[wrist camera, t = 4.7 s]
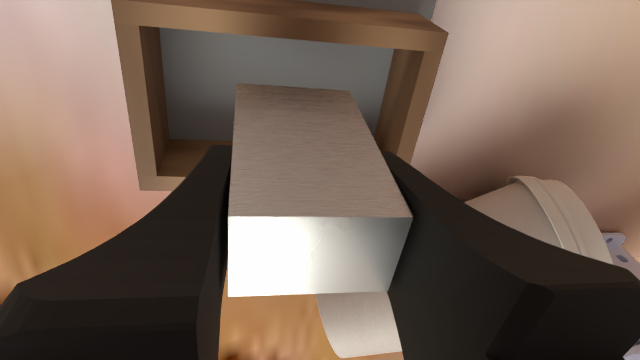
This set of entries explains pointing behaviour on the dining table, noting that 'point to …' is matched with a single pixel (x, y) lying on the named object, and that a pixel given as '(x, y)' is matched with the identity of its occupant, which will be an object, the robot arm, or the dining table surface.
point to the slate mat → (268, 71)
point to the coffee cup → (503, 206)
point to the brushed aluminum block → (309, 196)
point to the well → (277, 22)
